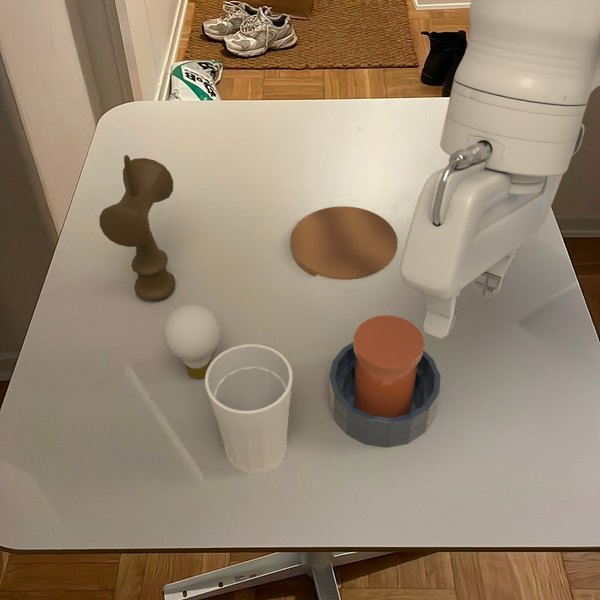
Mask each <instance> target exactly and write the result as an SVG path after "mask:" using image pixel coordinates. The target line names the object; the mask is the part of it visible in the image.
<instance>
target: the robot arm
mask: <svg viewBox="0 0 600 600" xmlns="http://www.w3.org/2000/svg"><path fill="white" fill-rule="evenodd" d="M468 25H469V26H468V27H469V28H468V31H469V32H468V41H467V44H466V48H465V52H464V55H463V56H462V59H461V60H460V62H459V64H458V66H457V68H456V71H455V73H454V77H453V81H452V86H451V91H450V95H449V99H448V105H447V108H446V112H445V113H446V114H445V118H444V123H443V126H442V130H441V131H442V132H441V136H440V141H439V147H440V149H441V150H442V152H444V153H445V154H447V155H448V156H449V157H448V164H447V166H446V167H443V168H441V169H439V170H437V171H435V172H433V173H432V174H431V175H430V176H429V177H428V178H427V179H426V181H425V183H424V185H423V187H422V189H421V191H420V193H419V196H418V199H417V202H416V205H415V208H414V211H413V216H412V219H411V223H410V227H409V228H408V229H409V230H408V233H407V237H406V241H405V244H404V248H403V252H402V256H401V259H400V266H399V274H400V279H401V282H402V283H403V285H404V286H405V287H408V288H410V289H413V290H415V291H417V292H420V293H423V299H424V303H425V309H426V311H425V316H424V320H423V325H422V327H423V331H424V332H425V333H426V334H427V335H431V336H433V337H436V338H438V339H444V338H446V336H447V335H448V334H450V333H451V332H452V331H453V330H454V329H455V323H456V321H457V317H458V314H459V311H457V310H455V309H456V301H457V298H458V297H459V296H460V293H461V290H463V288H465V287H466V286H468V285H469V284H471V283H472V282H473V281H474V283H473V286H472V291H473V293H474V294H475V295H477V296H480V297H483V298H485V299H491V298H493V297H494V296H496V295H497V294H498V293H499V292H500V290H501V286H502V282H503V280H504V276H505V274H506V272H507V271H508V268H509V266H510V265H511V263H512V260H513V259H514V257H515V255H516V252H517V248H519V247H521V245H523V244H524V243H526V242H527V241H528V240H530V239H531V238H533V236H535V235H537V234H538V233H539V231H540V230H541V228H542V226H543V224H544V223H545V221H546V219H547V217H548V215H549V213H550V210H551V208H552V205H553V202H554V200H555V197H556V194H557V192H558V189H559V187H560V184H561V181H562V179H563V176H564V174H565V173H566V172H567V171H568V170H569V167H570V163H571V161H572V160H571V159H572V157H573V155H575V154H577V153H578V151H579V150H580V147H581V144H582V141H583V138H584V134H585V125H584V124H583V119H584V117H585V113H586V109H587V106H588V103H589V99H590V97H591V94H592V93H593V91H595V90H596V89H597V88H599V87H600V0H470V4H469V9H468Z"/></svg>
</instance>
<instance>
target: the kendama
mask: <svg viewBox="0 0 600 600" xmlns="http://www.w3.org/2000/svg"><path fill="white" fill-rule="evenodd" d="M123 163H124V167H123V169H122V181H123V185H124V189H125V191H124V194H123V196H122V198H121V199H120V201H118V202H117V203H115V204H112V205H110V206H107V207H105V208H103V209H102V210H101V212H100V214H99V218H98V219H99V227H100V229H101V231H102V233H103V235H104V236H105V237H106V238H107V239H108V240H109V241H110V242H112V243H115V244H116V245H118V246H122V247H127V248H135V254H134V256H133V258H132V261H131V265H130V266H131V270H132V272H134V273H135V274H136V275H137V278H136V280H135V281H134V287H133V289H134V290H133V291H134V294H135V296H137V297H138V298H140V299H141V300H144V301H150V302H151V301H160V300H164V299H166V298H167V297H169V296H170V295H171V294H172V293H173V291H174V290H175V287H176V279H175V276H174V274H172V272H170V271H168V269H167V265H168V262H169V258H168V254H167V253H166V252H165V251H164V250H163V249H160V248H159V246H158V244H157V242H156V240H155V237H154V235H153V233H152V230H151V227H150V221H149V214H150V211H151V208H152V206H153V205H154V204H155V203H159V202H162V201H165V200H167V199H169V198H170V197H171V195H172V193H173V192H174V179H173V177H172V174H171V172H170V171H169V170H168V168H167V167H166V165H164V164H163V163H161V162H158V161H157V160H155V159H151V158H147V157H138V158H133V159H131V158H130V156H129V155H128V154H125V155H124V156H123Z"/></svg>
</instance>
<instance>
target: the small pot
mask: <svg viewBox="0 0 600 600" xmlns="http://www.w3.org/2000/svg"><path fill="white" fill-rule="evenodd" d="M353 342H354V344H353V347H354V352H355V355H356V362H355V379H354V395H353V404H354V407H355V408H357V409H358V410H360V411H362V412H364V413H366V414H368V415H373V416H379V417H386V418H392V417H398V416H403V415H408V414H409V412H410V410H411V405H412V399H413V392H414V386H415V379H416V373H417V367H418V362H419V361H420V359H421V357H422V354H423V350H424V347H425V340H424V336H423V334H422V332H421V330H420V329H419V328H418V327H417V326H416V325H415V324H414V323H413V322H411V321H409V320H407V319H406V318H403V317H400V316H398V315H397V316H396V315H388V314H387V315H384V314H383V315H377V316H376V315H375V316H373V317H371V318H367V319H366V320H365V321H363V322H362V323H361V324H360V325H359V326H358V327H357V328H356V331H354V336H353Z"/></svg>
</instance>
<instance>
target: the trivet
mask: <svg viewBox="0 0 600 600" xmlns="http://www.w3.org/2000/svg"><path fill="white" fill-rule="evenodd" d="M398 242H399V241H398V236H397V233H396V231H395V228H393V226H392V225H391V224H390V222H388V221H387V220H386V219H385V218H383V216H381V215H379V214H377V213H375V212H373V211H371V210H368V209H366V208H362V207H357V206H354V207H353V206H348V205H347V206H346V205H343V206H341V205H339V206H338V205H337V206H329V207H325V208H322V209H318V210H316V211H313V212H311V213H309V214H307V215H306V216H304V217H303V218H302V219H300V221H298V222H297V224H296V225H295V226H294V228H293V230H292V232H291V234H290V251H291V255H292V258H293V259H294V261H295V262H296V264H297V265H298V266H299V267H300V268H301V269H302V270H303V271H305V272H306V273H308V274H309V275H311V276H313V277H316V276H320V277H324V278H326V279H332V280H341V281H347V280H349V281H350V280H359V279H363V278H367V277H370V276H372V275H375V274H377V273H379V272H381V271H383V270H384V269H385V268H387V267H388V266H389V265H390V263H392V261H393V260H394V258H395V257H396V254H397V251H398Z"/></svg>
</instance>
